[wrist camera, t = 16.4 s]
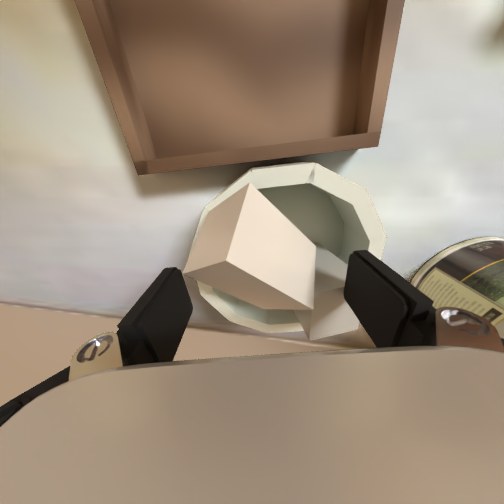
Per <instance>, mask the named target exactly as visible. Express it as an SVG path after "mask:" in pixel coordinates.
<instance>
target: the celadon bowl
mask: <svg viewBox="0 0 504 504" xmlns="http://www.w3.org/2000/svg"><path fill="white" fill-rule="evenodd" d="M248 183H251V184H252V185H253V186H254V187H255V188H256V189H257V190H258V191H259V192H260V193H261V194H262V195H263V196H264V197H265V198H267V199H268V200H269V201H270V202H271V203H272V204H273V205H274V206H275V207H276V208H277V209H278V210H279V211H280V212H281V213H282V214H283V215H284V216H285V217H286V218H287V219H288V220H289V221H290V222H291V223H292V224H293V225H294V226H296V227H297V228H298V229H299V230H300V231H301V232H302V233H303V234H304V235H305V236H306V237H307V238H308V239H309V240H310V241H311V242H312V243H317V242H318V243H319V244H321V245H322V246H323V247H325V248H326V249H327V250H329V251H330V252H331V253H333V254H334V255H335V256H337V257H338V258H339V259H340V260H342V261H343V262H344V263H346V264H347V265H348V261H349V255H350V254H352V253H353V251H357V250H368V251H369V252H370V253H371V254H373V255H374V256H375V257H377V258H378V259H379V260H381V258H382V254H383V250H384V246H385V242H386V238H387V237H386V236H387V235H386V233H385V231H384V228H383V226H382V223H381V221H380V219H379V216H378V214H377V211H376V209H375V207H374V204H373V202H372V199H371V197H370V195H369V192H368V191H367V190H366V189H364V188H363V187H361V186H359V185H357V184H355V183H353V182H351V181H349V180H348V179H346V178H344V177H342V176H340V175H338V174H336V173H334V172H333V171H331V170H329V169H327V168H325V167H323V166H321V165H319V164H318V163H311V162H296V163H288V164H279V165H270V166H262V167H254V168H252V169H251V168H250V169H249V170H248V171H247V172H245V173H244V174H243V175H242V176H241V177H239V178H238V179H237V180H235V181H234V182H233V183H232V184H231V185H229V186H228V187H227V188H226V189H224V190H223V191H222V192H221V193H219V194H218V195H217V196H216V197H215V198H214V199H213V200H212V201H211V202H210V203H209V204H207V205H206V206H205V207H204V209H203V212H202V215H201V218H200V221H199V225H198V228H197V231H196V234H195V237H194V240H193V243H192V246H191V250H190V253H189V256H190V254H191V252H192V249H193V247H194V245H195V242H196V240H197V237H198V235H199V233H200V230H201V228H202V225H203V223H204V221H205V218H206V216H207V213H208V212H209V211H210V210H211V209H213V208H214V207H216V206H217V205H219V204H220V203H221V202H223V201H224V200H226V199H227V198H228V197H230V196H231V195H233V194H234V193H235V192H237V191H238V190H240V189H241V188H243V187H244V186H245V185H247V184H248ZM196 281H197V280H196ZM197 284H198V288H199V291H200V294H201V296H202V297H203V298H204V299H206V300H207V301H208V302H209V303H210V304H211V305H212V306H213V307H214V308H215V309H216V310H218V311H219V312H220V313H221V314H222V315H223V316H224V317H225V318H226V319H227V320H229V321H230V322H233V323H236V324H239V325H242V326H246V327H249V328H252V329H255V330H258V331H262V332H265V333H267V332H268V333H278V332H292V331H304V330H303V328H302V326H301V324H300V322H299V320H298V318H297V317H296V315H295V313H294V311H293V310H282V309H262V308H259V307H257V306H255V305H252V304H250V303H248V302H246V301H243V300H241V299H239V298H236V297H234V296H232V295H229V294H227V293H225V292H223V291H220V290H218V289H216V288H213V287H211V286H209V285H206V284H204V283H202V282H200V281H197Z"/></svg>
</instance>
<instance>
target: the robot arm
mask: <svg viewBox="0 0 504 504" xmlns="http://www.w3.org/2000/svg"><path fill="white" fill-rule="evenodd" d="M343 295H344V299H345V301H346V302H347V303H348V305H349V306H350V308H351V309H352V311H353V312H354V314H355V315H356V317H357V318H358V320H359V321H360V323H361V324H362V326H363V327H364V329H365V330H366V332H367V333H368V335H369V336H370V338H371V339H372V341H373V342H374V344H375V345H376V347H377V348H366V349H349V350H333V351H317V352H300V353H285V354H270V355H255V356H240V357H227V358H226V357H225V358H213V359H198V360H184V361H173V358H174V356H175V354H176V351H177V348H178V346H179V344H180V341H181V339H182V336H183V334H184V331H185V329H186V326H187V324H188V321H189V319H190V316H191V314H192V311H193V306H192V303H191V300H190V297H189V294H188V291H187V288H186V285H185V282H184V279H183V276H182V273H181V270H179V269H177V268H176V267H172V268H165V269H164V270H163V271H162V272H161V273H160V274H159V276H158V277H157V278H156V279H155V281H154V282H153V283H152V284H151V285H150V287H149V288H148V289H147V290H146V291H145V293H144V294H143V295H142V296H141V297H140V299H139V300H138V301H137V302H136V304H135V305H134V306H133V307H132V308H131V310H130V311H129V312H128V313H127V314H126V316H125V317H124V318H123V319H122V320H121V322H120V323H119V324H118V325H117V326H118V328H119V330H118V331H117V333H114V332H106V333H102V334H99V335H97V336H95V337H93V338H91V339H90V340H88V341H87V342H85V343H84V344H83V345H81V347H79V349H77V351H76V352H75V353H74V355H73V356H72V359H71V365H70V366H69V367H67V368H66V369H64V370H62V371H60V372H59V373H57V374H55V375H53V376H52V377H50V378H48V379H47V380H45V381H43V382H41V383H40V384H38V385H36V386H35V387H33V388H31V389H29V390H28V391H26V392H24V393H22V394H21V395H19V396H17V397H16V398H14V399H12V400H10V401H9V402H7V403H6V404H4V405H3V406H1V407H0V504H504V339H503V338H500V335H499V333H498V331H497V329H496V328H495V326H493V325H492V324H491V323H490V322H489V321H487V320H486V319H484V318H482V317H481V316H479V315H477V314H475V313H472V312H470V311H467V310H464V309H460V308H456V307H440V308H438V309H435V308H434V307H433V306H432V305H433V303H434V301H433V300H431V299H430V298H429V297H428V296H426V295H425V294H424V293H422V292H421V291H420V290H418V289H417V288H416V287H414V286H413V285H412V284H411V283H409V282H408V281H407V280H405V279H404V278H403V277H401V276H400V275H399V274H398V273H396V272H395V271H394V270H392V269H391V268H390V267H388V266H387V265H386V264H384V263H383V262H382V261H381V260H379V259H378V258H377V257H375V256H374V255H373V254H371V253H370V252H369V251H368V250H357V251H353V253H352V254H350V255H349V261H348V267H347V273H346V280H345V286H344V293H343Z"/></svg>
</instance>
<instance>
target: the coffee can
mask: <svg viewBox="0 0 504 504" xmlns="http://www.w3.org/2000/svg"><path fill="white" fill-rule="evenodd" d="M411 284H412V285H413V286H414V287H416V288H417V289H418V290H420V291H421V292H422V293H424V294H425V295H426V296H428V297H429V298H430V299H431V300H433V301H434V303H433V305H432V306H433V307H434V308H435V309H438V308H440V307H456V308H460V309H464V310H467V311H470V312H472V313H475V314H477V315H479V316H481V317H482V318H484V319H486V320H487V321H489V322H490V323H491V324H492V325H493V326H495V328H496V329H497V331H498V333H499V335H500V338H503V339H504V239H503V238H499V237H480V238H474V239H470V240H466V241H463V242H461V243H458V244H455V245H453V246H451V247H449V248H447V249H445V250H443V251H442V252H440V253H438V254H437V255H435V256H434V257H433V258H431V259H430V260H429V261H428V262H426V263H425V264H424V265H423V266H422V267H421V269H420V270H419V271H418V272H417V273H416V274H415V276H414V277H413V279H412V281H411Z"/></svg>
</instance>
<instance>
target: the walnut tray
mask: <svg viewBox="0 0 504 504" xmlns="http://www.w3.org/2000/svg"><path fill="white" fill-rule="evenodd" d="M404 1H405V0H75V2H76V5H77V8H78V11H79V13H80V16H81V19H82V22H83V24H84V27H85V30H86V33H87V35H88V38H89V41H90V44H91V46H92V49H93V52H94V55H95V57H96V60H97V63H98V66H99V68H100V71H101V74H102V77H103V79H104V82H105V85H106V88H107V90H108V93H109V96H110V99H111V102H112V104H113V107H114V110H115V113H116V115H117V118H118V121H119V124H120V126H121V129H122V132H123V135H124V137H125V140H126V143H127V146H128V148H129V151H130V154H131V157H132V159H133V162H134V165H135V168H136V170H137V173H138V175H145V174H153V173H161V172H170V171H178V170H186V169H195V168H203V167H211V166H220V165H228V164H236V163H245V162H253V161H261V160H270V159H278V158H286V157H295V156H303V155H311V154H320V153H328V152H336V151H345V150H353V149H361V148H369V147H378V144H379V139H380V133H381V128H382V122H383V117H384V111H385V106H386V100H387V95H388V89H389V84H390V78H391V73H392V67H393V62H394V56H395V51H396V45H397V40H398V34H399V29H400V23H401V18H402V12H403V7H404Z"/></svg>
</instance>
